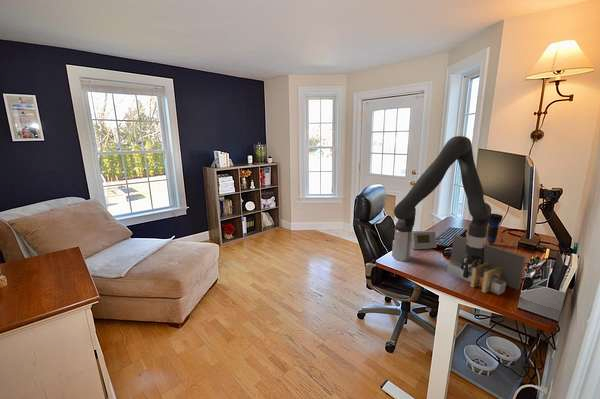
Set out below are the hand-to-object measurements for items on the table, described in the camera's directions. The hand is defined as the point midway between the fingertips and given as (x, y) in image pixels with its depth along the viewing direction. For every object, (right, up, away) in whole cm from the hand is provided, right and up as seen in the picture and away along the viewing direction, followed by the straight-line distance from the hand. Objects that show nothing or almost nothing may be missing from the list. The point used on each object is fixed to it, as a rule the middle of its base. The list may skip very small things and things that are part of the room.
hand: (470, 275), depth 128 cm
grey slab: (+1, -3, -1) cm, 3 cm away
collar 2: (+4, -4, -7) cm, 9 cm away
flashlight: (+40, +8, +42) cm, 58 cm away
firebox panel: (+9, -1, +5) cm, 10 cm away
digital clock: (-5, +6, +39) cm, 40 cm away
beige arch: (+2, -3, -3) cm, 5 cm away
